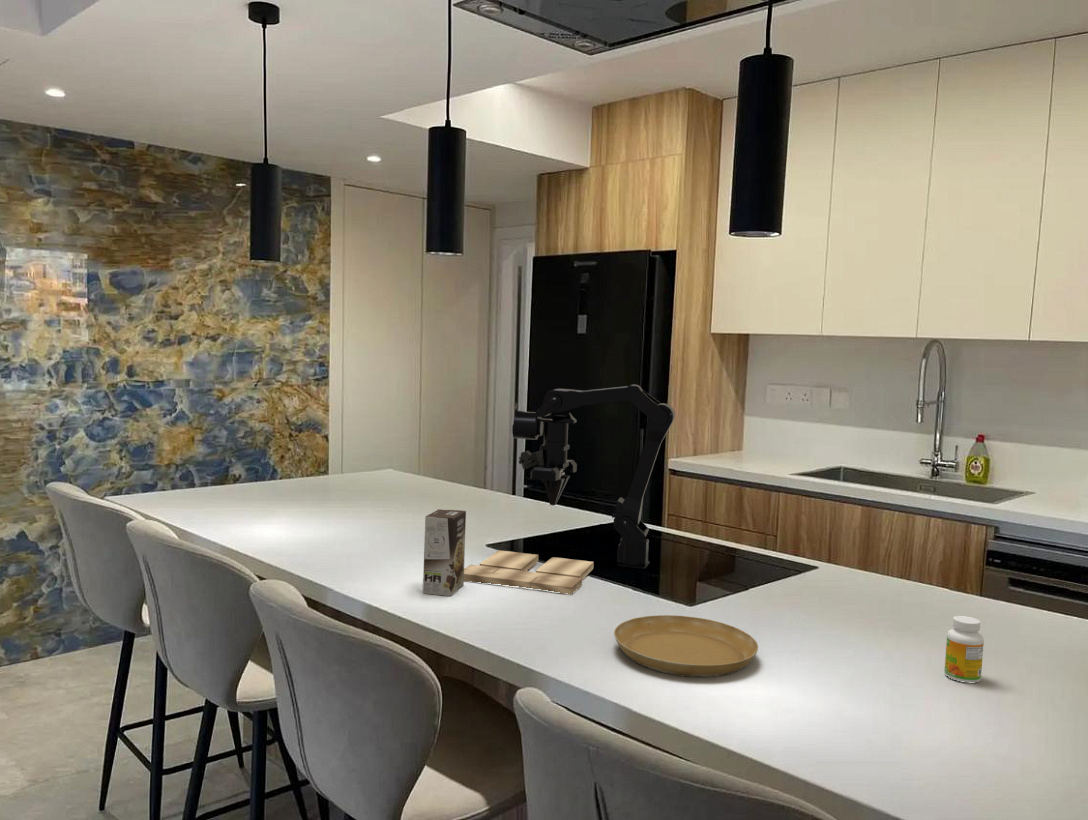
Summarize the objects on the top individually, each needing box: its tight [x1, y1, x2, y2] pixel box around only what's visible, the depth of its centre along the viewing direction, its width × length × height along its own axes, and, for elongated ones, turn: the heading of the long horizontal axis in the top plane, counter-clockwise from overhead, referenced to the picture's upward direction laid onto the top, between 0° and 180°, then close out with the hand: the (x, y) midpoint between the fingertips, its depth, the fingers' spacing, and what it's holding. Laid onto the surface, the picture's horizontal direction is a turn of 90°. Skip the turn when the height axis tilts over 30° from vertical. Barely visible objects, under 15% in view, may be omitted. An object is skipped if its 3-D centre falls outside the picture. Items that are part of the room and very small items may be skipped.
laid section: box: [464, 564, 583, 595], centre depth 187 cm, size 26×8×2 cm, turn 72°
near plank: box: [535, 556, 595, 581], centre depth 196 cm, size 10×12×2 cm
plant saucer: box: [613, 614, 759, 677], centre depth 147 cm, size 24×24×3 cm
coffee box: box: [422, 509, 467, 597], centre depth 180 cm, size 9×6×16 cm
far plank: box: [479, 549, 539, 571], centre depth 200 cm, size 10×12×2 cm
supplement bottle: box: [943, 615, 985, 683], centre depth 141 cm, size 5×5×10 cm
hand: (553, 504), depth 210 cm, fingers closed
